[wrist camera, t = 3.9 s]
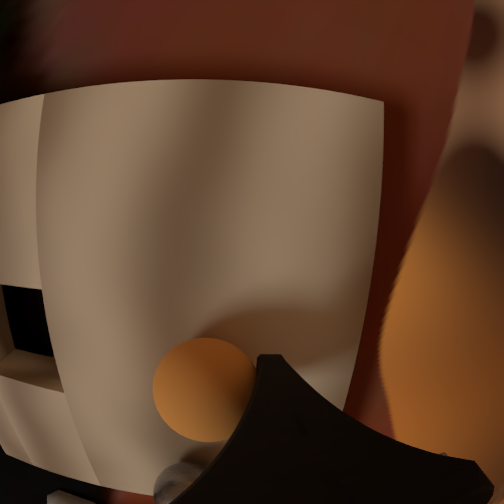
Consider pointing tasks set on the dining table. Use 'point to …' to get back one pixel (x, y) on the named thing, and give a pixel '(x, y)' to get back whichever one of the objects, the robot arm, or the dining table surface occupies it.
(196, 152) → the board
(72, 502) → the flask
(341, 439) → the robot arm
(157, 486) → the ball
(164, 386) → the ball
